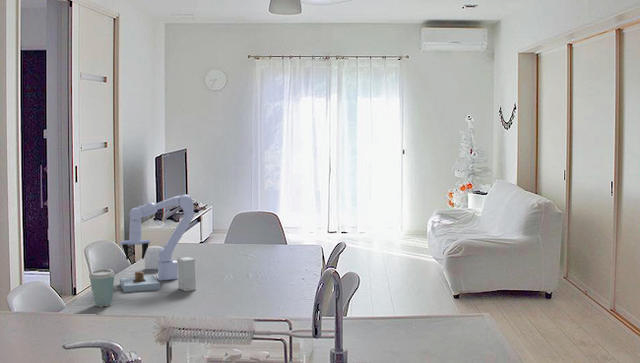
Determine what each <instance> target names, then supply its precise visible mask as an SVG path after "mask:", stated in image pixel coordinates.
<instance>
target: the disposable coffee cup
mask: <svg viewBox="0 0 640 363" xmlns="http://www.w3.org/2000/svg"><path fill="white" fill-rule="evenodd" d="M89 280H90V284H91V285H90V286H91V290H92V296H93V300H94V305H95V307H97V306H100V307H99V308H104V307H103V306H106V307H109V306H111V305H112V299H113V290H114V280H115V272H114V270H113V269H110V268H98V269H95V270H94V269H93V271H90V274H89Z"/></svg>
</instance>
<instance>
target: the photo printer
mask: <svg viewBox="0 0 640 363" xmlns="http://www.w3.org/2000/svg"><path fill="white" fill-rule="evenodd" d="M162 247H163V246H158V245H152V246H148V248H147V250H146V252H145V256H144V270H158V260H159V251H160V249H161V248H162Z"/></svg>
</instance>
